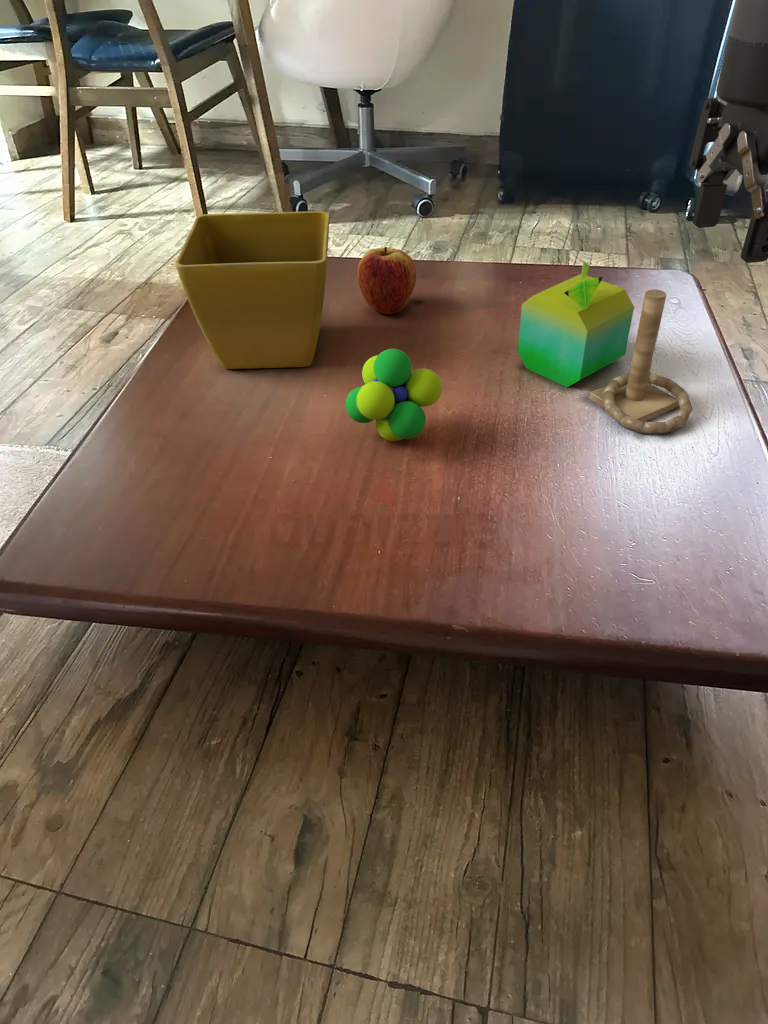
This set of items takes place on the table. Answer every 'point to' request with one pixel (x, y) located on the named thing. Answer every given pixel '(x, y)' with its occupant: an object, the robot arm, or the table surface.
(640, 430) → the ring
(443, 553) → the table surface
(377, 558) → the table surface
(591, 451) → the table surface
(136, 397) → the table surface
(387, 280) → the apple
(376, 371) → the molecule model
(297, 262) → the flower pot
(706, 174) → the robot arm
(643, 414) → the post
